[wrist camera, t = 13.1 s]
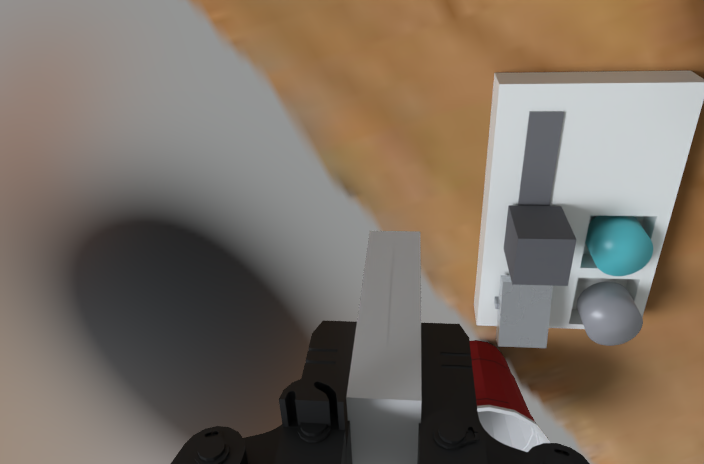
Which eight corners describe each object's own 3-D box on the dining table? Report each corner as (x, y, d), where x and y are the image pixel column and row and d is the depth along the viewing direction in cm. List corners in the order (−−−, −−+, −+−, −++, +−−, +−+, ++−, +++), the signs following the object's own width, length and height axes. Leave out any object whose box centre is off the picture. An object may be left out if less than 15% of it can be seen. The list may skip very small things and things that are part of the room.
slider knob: (508, 205, 45) (518, 238, 40) (561, 205, 44) (576, 239, 40) (503, 248, 47) (512, 284, 42) (553, 249, 46) (567, 285, 42)
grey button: (581, 280, 48) (590, 302, 45) (635, 282, 48) (648, 304, 45) (572, 321, 50) (581, 344, 48) (625, 323, 50) (636, 346, 47)
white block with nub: (500, 274, 48) (502, 281, 47) (549, 276, 48) (553, 283, 46) (495, 338, 50) (498, 346, 49) (542, 340, 49) (546, 348, 48)
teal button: (589, 209, 46) (599, 228, 44) (645, 210, 46) (659, 229, 43) (580, 255, 48) (589, 275, 46) (634, 256, 48) (646, 276, 45)
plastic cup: (509, 304, 54) (530, 401, 43) (542, 382, 58) (569, 487, 48) (403, 336, 57) (400, 433, 47) (442, 407, 62) (448, 510, 51)
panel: (494, 72, 43) (501, 88, 39) (690, 70, 41) (715, 86, 38) (473, 304, 54) (477, 332, 51) (627, 309, 53) (642, 338, 49)
